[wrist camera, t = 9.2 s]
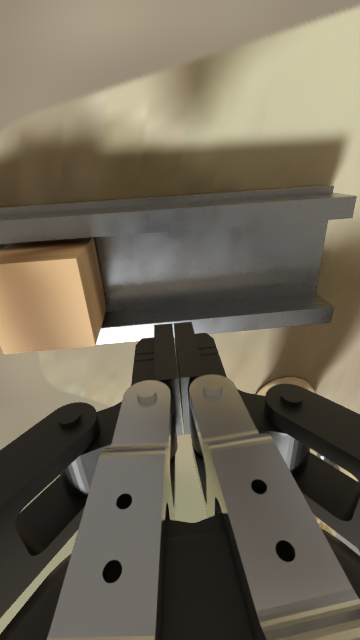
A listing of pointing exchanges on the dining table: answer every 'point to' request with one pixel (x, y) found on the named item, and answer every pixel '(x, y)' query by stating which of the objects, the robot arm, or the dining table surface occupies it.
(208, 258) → the chute
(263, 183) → the dining table surface
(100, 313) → the oak block
